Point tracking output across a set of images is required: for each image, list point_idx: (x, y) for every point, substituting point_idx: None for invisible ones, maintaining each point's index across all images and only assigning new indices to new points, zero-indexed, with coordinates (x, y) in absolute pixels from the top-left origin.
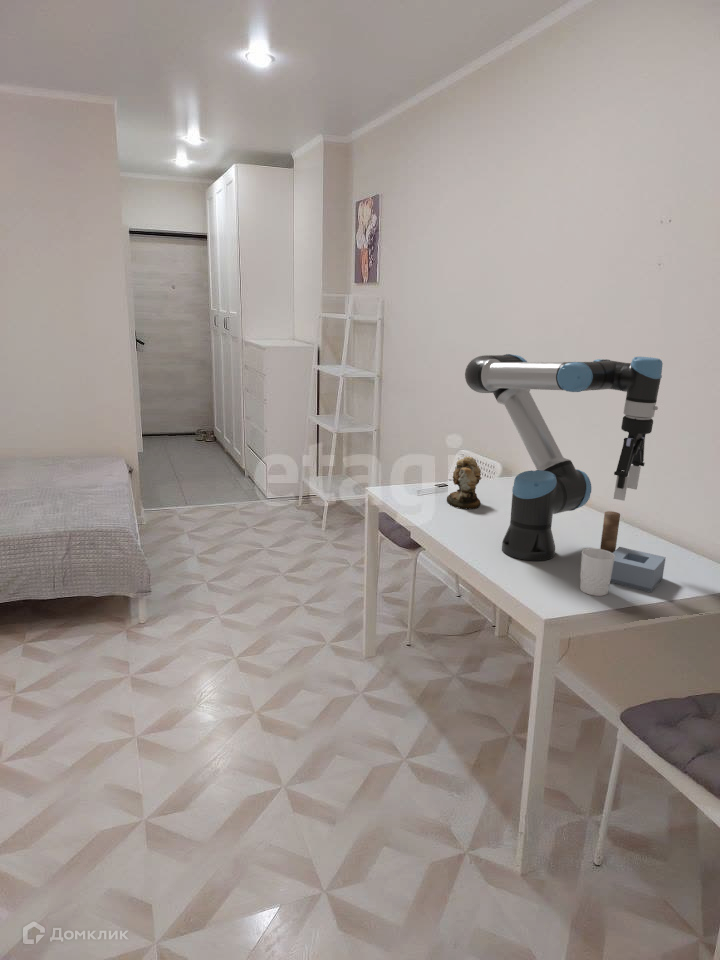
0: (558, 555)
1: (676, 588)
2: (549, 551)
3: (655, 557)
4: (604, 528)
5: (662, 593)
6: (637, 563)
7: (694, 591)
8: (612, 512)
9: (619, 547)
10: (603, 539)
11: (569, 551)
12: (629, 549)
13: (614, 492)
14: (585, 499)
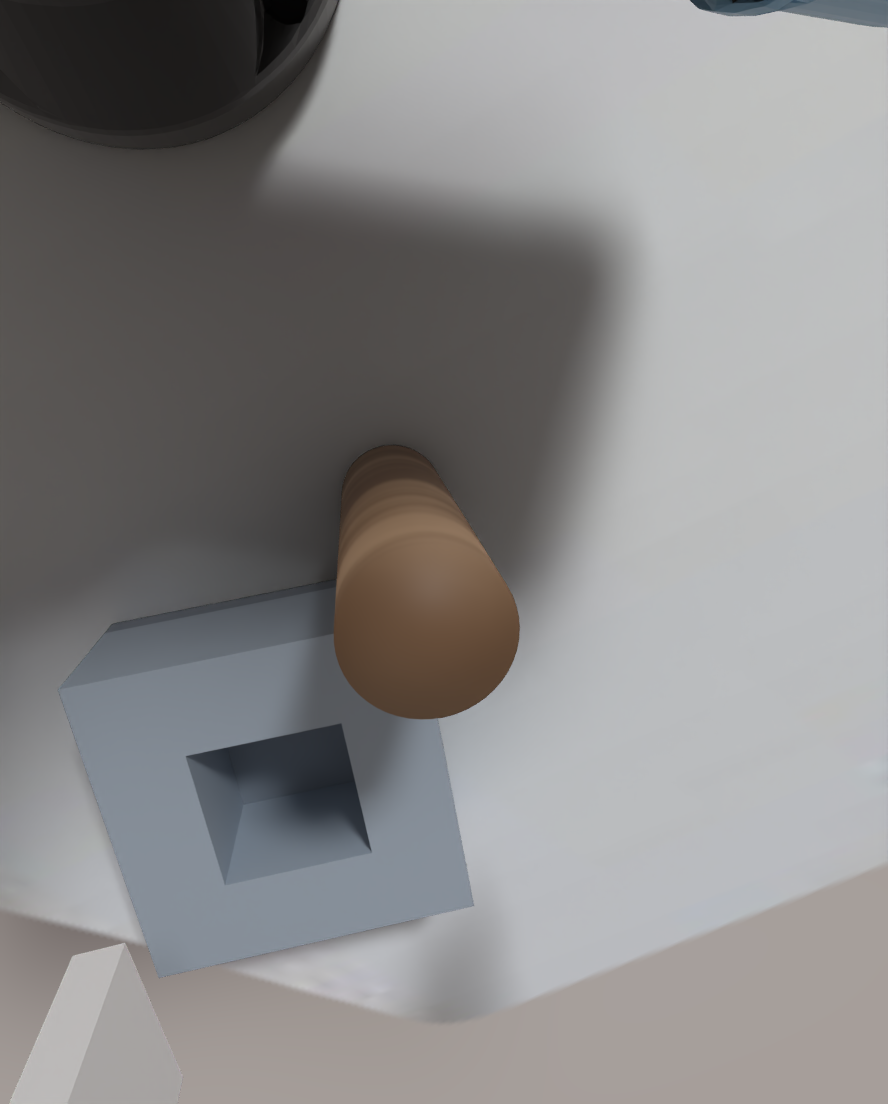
0: (269, 148)
1: None
2: (85, 125)
3: (409, 873)
4: (343, 546)
5: None
6: (180, 863)
7: (404, 979)
8: (467, 615)
9: None
10: (343, 522)
11: (427, 164)
12: None
13: (24, 1068)
14: (811, 12)
